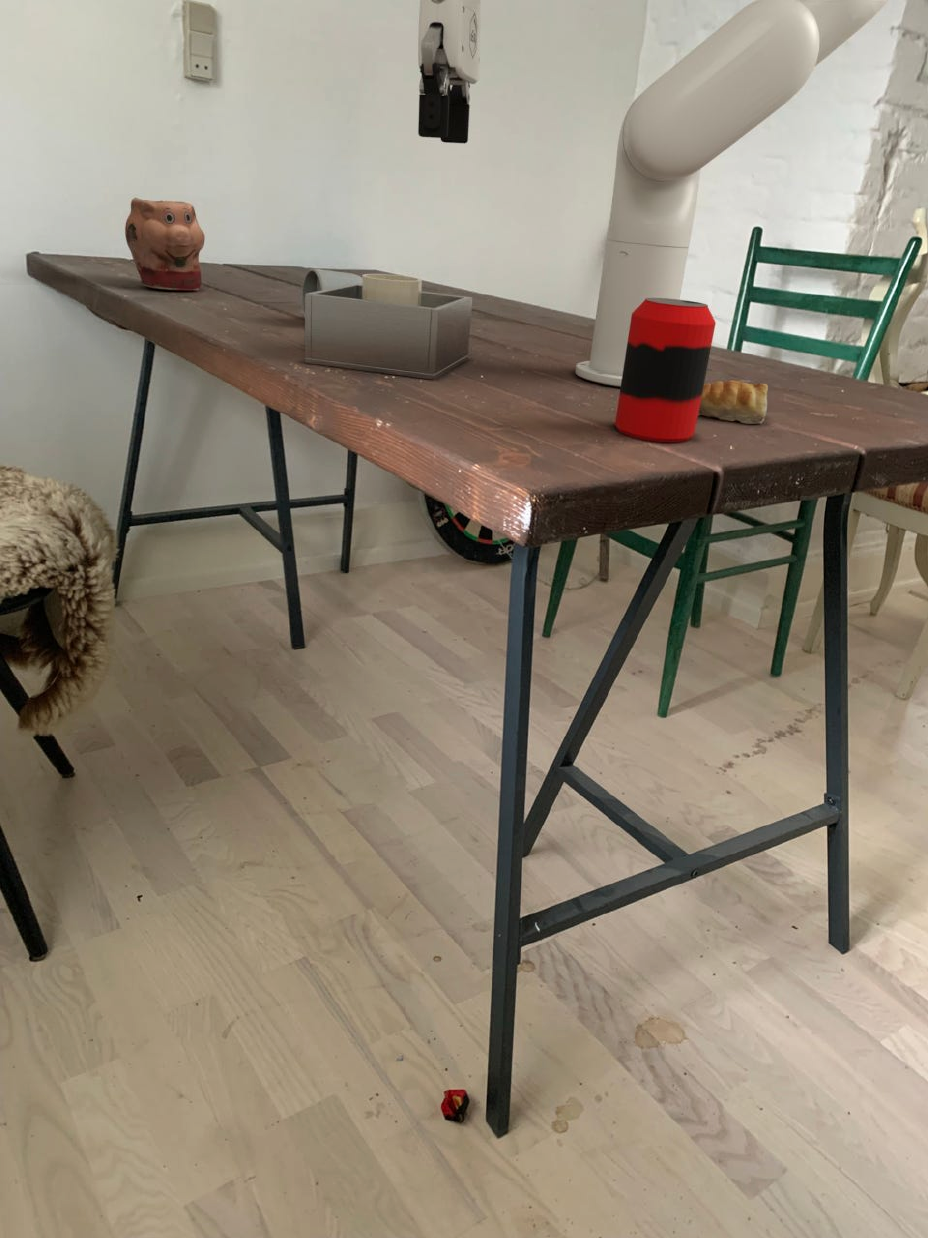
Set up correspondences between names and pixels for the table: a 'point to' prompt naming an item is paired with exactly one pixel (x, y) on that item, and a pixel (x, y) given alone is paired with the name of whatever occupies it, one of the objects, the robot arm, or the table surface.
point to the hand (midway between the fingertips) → (443, 139)
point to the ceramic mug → (326, 281)
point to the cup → (392, 289)
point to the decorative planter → (165, 244)
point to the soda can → (664, 369)
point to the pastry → (734, 401)
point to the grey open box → (387, 332)
